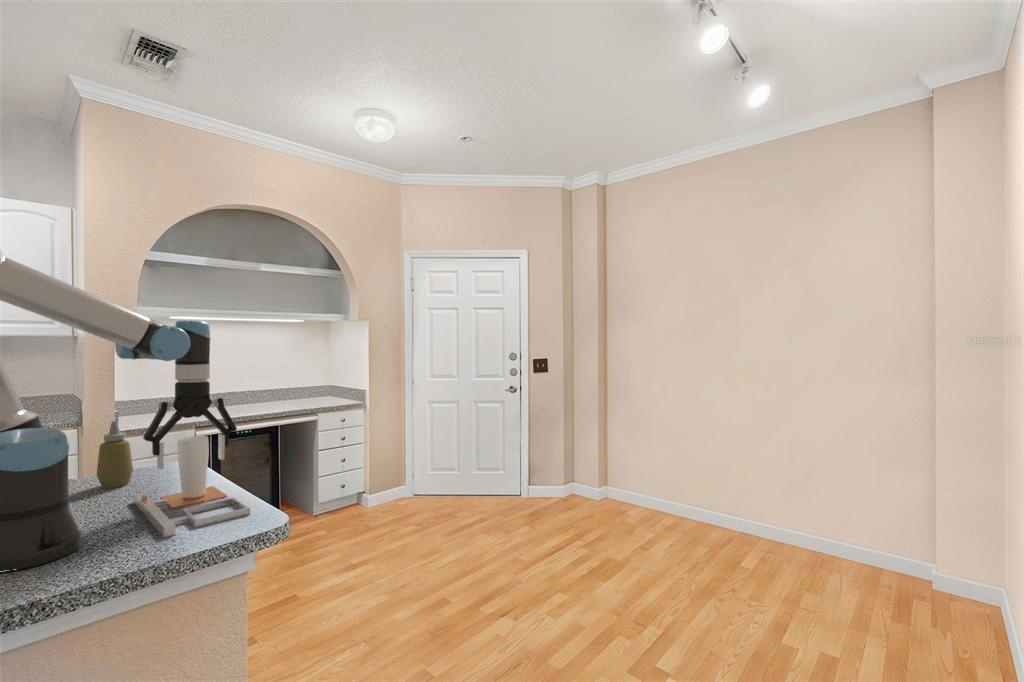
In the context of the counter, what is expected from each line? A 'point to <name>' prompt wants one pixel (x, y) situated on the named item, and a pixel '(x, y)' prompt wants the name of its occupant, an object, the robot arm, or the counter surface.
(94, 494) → the counter surface
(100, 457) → the squeeze bottle
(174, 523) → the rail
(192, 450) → the drinking glass
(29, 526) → the robot arm
